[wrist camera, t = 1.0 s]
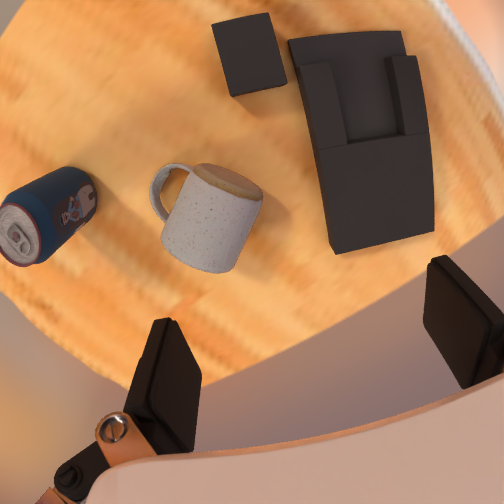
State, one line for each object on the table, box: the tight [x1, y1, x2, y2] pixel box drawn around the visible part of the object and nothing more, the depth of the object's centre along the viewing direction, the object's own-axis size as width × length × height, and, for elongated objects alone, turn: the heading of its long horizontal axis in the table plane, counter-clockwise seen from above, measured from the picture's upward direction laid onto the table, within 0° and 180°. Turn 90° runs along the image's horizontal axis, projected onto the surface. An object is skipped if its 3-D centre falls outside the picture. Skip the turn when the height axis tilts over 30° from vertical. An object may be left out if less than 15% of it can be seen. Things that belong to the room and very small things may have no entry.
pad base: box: [288, 31, 434, 255], centre depth 29 cm, size 22×12×3 cm, turn 14°
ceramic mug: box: [150, 163, 263, 273], centre depth 29 cm, size 11×8×8 cm
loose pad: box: [211, 12, 287, 97], centre depth 25 cm, size 7×5×4 cm
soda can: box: [0, 166, 97, 267], centre depth 26 cm, size 7×7×12 cm
